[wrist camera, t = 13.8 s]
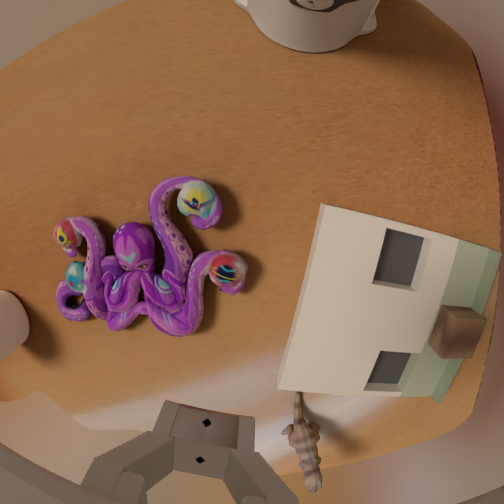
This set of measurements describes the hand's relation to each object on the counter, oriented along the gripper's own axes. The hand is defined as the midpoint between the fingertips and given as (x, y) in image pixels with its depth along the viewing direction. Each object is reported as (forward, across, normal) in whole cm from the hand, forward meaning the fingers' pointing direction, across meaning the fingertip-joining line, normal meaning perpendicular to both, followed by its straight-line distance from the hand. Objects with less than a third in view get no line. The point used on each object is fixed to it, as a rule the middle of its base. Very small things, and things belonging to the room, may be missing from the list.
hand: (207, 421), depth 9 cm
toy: (+29, -13, +26) cm, 41 cm away
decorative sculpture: (+30, +13, +5) cm, 33 cm away
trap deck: (+29, -22, +6) cm, 37 cm away
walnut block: (+27, -31, +6) cm, 41 cm away
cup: (+29, +38, +20) cm, 52 cm away
